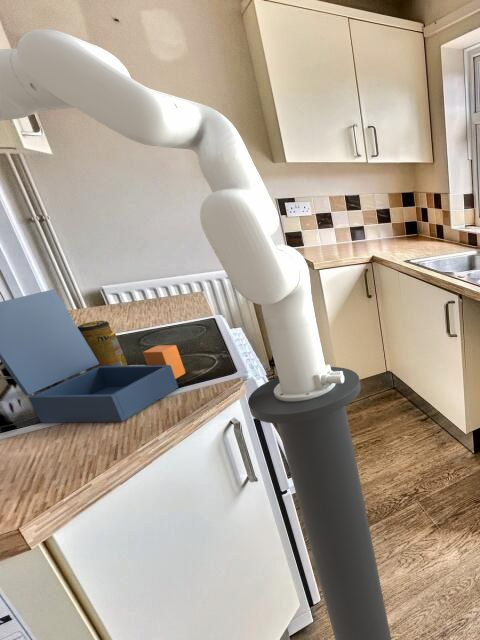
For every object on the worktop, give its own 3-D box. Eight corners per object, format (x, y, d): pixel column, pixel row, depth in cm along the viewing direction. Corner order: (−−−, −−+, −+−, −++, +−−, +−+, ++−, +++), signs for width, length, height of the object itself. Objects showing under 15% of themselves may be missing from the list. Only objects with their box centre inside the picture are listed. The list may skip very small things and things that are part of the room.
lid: (54, 289, 83) (33, 293, 83) (-31, 309, 70) (-55, 314, 70) (99, 363, 88) (80, 367, 89) (28, 394, 76) (6, 399, 76)
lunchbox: (178, 387, 90) (170, 364, 88) (122, 421, 77) (111, 396, 75) (108, 388, 91) (98, 366, 89) (40, 422, 78) (28, 397, 76)
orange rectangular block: (185, 373, 97) (176, 345, 94) (172, 381, 93) (161, 351, 91) (167, 373, 97) (157, 345, 94) (153, 381, 93) (142, 352, 91)
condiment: (112, 366, 102) (93, 319, 98) (145, 365, 102) (127, 318, 97) (82, 379, 95) (60, 329, 91) (118, 379, 95) (97, 329, 90)
